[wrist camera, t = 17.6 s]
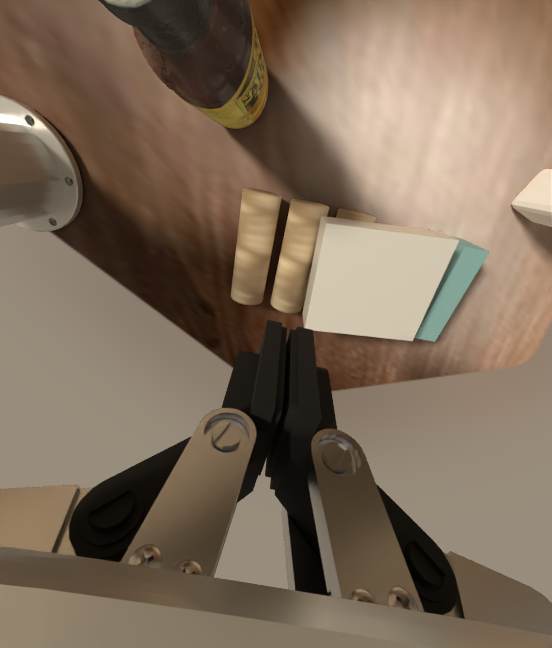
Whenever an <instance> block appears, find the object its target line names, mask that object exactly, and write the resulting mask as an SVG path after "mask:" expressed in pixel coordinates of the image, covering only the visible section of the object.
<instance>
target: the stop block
mask: <svg viewBox="0 0 552 648" xmlns="http://www.w3.org/2000/svg"><path fill="white" fill-rule="evenodd" d="M453 238H455V237H453ZM455 239H457V240H459V242H458V244H457V246H456V249H455V251H454V253H453V255H452V257H451V259H450V262H449V264H448V266H447V268H446V270H445V272H444V275H443V277H442V279H441V281H440V283H439V285H438V287H437V290H436V292H435V294H434V296H433V298H432V300H431V303H430V305H429V307H428V309H427V311H426V313H425V316H424V318H423V320H422V322H421V324H420V326H419V328H418V331H417V333H416V335H415V337H414V338H418V339H423V340H428V341H433V342H435V341H436V339H437V338H438V336H439V334H440V333H441V331H442V329H443V328H444V326H445V324H446V323H447V321H448V319H449V318H450V316H451V315H452V313H453V311H454V310H455V308H456V306H457V305H458V303H459V301H460V300H461V298H462V296H463V295H464V293H465V292H466V290H467V288H468V287H469V285H470V283H471V282H472V280H473V278H474V277H475V275H476V273H477V272H478V270H479V269H480V267H481V265H482V264H483V262H484V260H485V259H486V257H487V255H488V254H489V251H487V250H485V249H483V248H481V247H478V246H476V245H474V244H472V243H470V242H468V241H466V240H463V239H460V238H455Z"/></svg>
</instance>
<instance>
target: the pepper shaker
mask: <svg viewBox="0 0 552 648" xmlns="http://www.w3.org/2000/svg"><path fill="white" fill-rule="evenodd" d="M511 204H512V206H513V208H514V209H516V210H517V211H518V212H520V213H521V214H522V215H523V216H525V217H526V218H527V219H529V220H530V221H531V222H534V223H538V224H542V225H546V226H550V227H552V169H545V170H542V171H541V172H539V173H538V174H537V175H536V176H535V177H534V178H533V179H532V181H531V182H530V183H529V184H528V185H527V186H526V187H525V188H524V189H523V190H522V191H521V192H520V193H519V194H518V195H517V197H516V198H515V199H514V200H513V201H512V203H511Z"/></svg>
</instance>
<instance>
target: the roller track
mask: <svg viewBox="0 0 552 648" xmlns="http://www.w3.org/2000/svg"><path fill="white" fill-rule="evenodd" d="M281 199H282V196H280V195H277V194H274V193H271V192H267V191H262V190H257V189H250V188H244V189H243V193H242V202H241V211H240V219H239V228H238V237H237V245H236V254H235V263H234V271H233V280H232V289H231V298H232V299H233V300H234V301H236V302H238V303H241V304H245V305H257V304H260V303H261V302H262V301H263V296H264V290H265V285H266V280H267V274H268V269H269V263H270V258H271V253H272V247H273V242H274V236H275V231H276V226H277V220H278V215H279V210H280V204H281ZM328 211H329V207H328V206H326V205H323V204H320V203H317V202H313V201H308V200H303V199H295V198H293V199H291V203H290V208H289V213H288V218H287V223H286V228H285V233H284V238H283V243H282V248H281V253H280V258H279V263H278V267H277V272H276V277H275V282H274V287H273V292H272V297H271V305H272V306H273V307H274V308H275V309H277V310H279V311H282V312H286V313H297V312H299V311H301V309H302V306H303V302H304V298H305V295H306V291H307V287H308V282H309V277H310V272H311V267H312V261H313V256H314V251H315V246H316V241H317V236H318V230H319V225H320V220H321V216H326V217H327V214H328ZM336 218H341V219H349V220H356V221H364V222H372V223H375V221H376V217H374V216H372V215H369V214H366V213H362V212H358V211H354V210H349V209H342V208H339V209H338V212H337V215H336Z"/></svg>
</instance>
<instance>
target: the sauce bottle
mask: <svg viewBox="0 0 552 648" xmlns="http://www.w3.org/2000/svg"><path fill="white" fill-rule="evenodd" d="M99 1H100V2H101V3H102V4H103V5H104V6H105V7H106V8H107V9H108V10H109V11H110V12H111V13H113V14H114V15H115V16H116V17H117V18H119V19H120V20H122V21H123V22H125V23H127V24H129V25H132V26H133V29H134V35H135V37H136V39H137V42H138V44H139V46H140V48H141V50H142V53H143V55H144V57H145V58H146V60H147V62H148V64H149V66H150V67H151V68H152V70H153V71H154V72H155V74H156V75H157V76H158V77H159V78H160V79H161V81H162V82H163V83H165V84H166V86H167V87H168V88H170V89H172V90H173V91H174V92H175V93H176V94H177V95H178V96H179V97H181V98H182V99H183V100H184V101H186V102H187V103H189V104H190V105H192V106H193V107H195V108H196V109H198V110H199V111H201V112H202V113H204V114H205V115H207V116H208V117H210V118H211V119H212V120H214V121H215V122H217V123H219V124H220V125H222V126H224V127H227V128H234V129H243V128H247V127H249V126H250V125H251V124H253V123H254V122H255V121H256V120H257V119H258V118H259V117H260V116H261V114H262V112H263V109H264V107H265V103H266V100H267V95H268V75H267V70H266V66H265V62H264V58H263V55H262V51H261V47H260V44H259V39H258V35H257V32H256V29H255V25H254V21H253V17H252V14H251V10H250V6H249V3H248V0H99Z"/></svg>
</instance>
